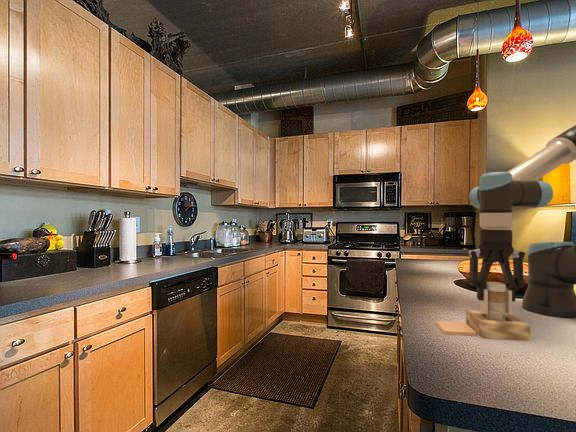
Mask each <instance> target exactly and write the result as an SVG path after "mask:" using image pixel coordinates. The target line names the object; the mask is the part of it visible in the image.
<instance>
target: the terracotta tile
mask: <svg viewBox="0 0 576 432" xmlns="http://www.w3.org/2000/svg"><path fill="white" fill-rule="evenodd" d="M435 325H436V326H437V327H438V328H439V330H440V331H442V333H443V334H444V335H453V336H454V335H456V336H457V335H458V336H471V337H474V336H475V337H476V336H477V334H478V333H477V332H475V331H474V330H473V329H472V328H471V327H470V326H468V325H467V324H466V322H461V321H460V322H459V321H443V320H442V321H439V320H435Z"/></svg>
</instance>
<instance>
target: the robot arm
mask: <svg viewBox="0 0 576 432" xmlns="http://www.w3.org/2000/svg"><path fill="white" fill-rule="evenodd" d="M575 160H576V124H575V125H573V126H571V127H570V128H568V129H566V130H565V131H563V132H561V133H560V134H558V135H557V136H555V137H553V138H552V139H550V140H549V141H548V142H547V143H546V145H545V147H544V148H541V150H539V151H537V152H536V153H534V154H532V155H531V156H529V157H528V158H527V159H524V160H523V161H522V162H520V163H518V164H517V165H515V166H514V167H512V168H511V169H509V170H508V171H494V172H485V173H483V174H481V175H480V177H479V186H475V187H473V188H472V189H471V190H470V192H469V195H468V196H469V197H468V200H469V202H470V203H469V204H471V206H472V207H474V208H476V209H479V227H480V228H481V229H480V230H479V246H478V247H477V248H476V249H472V250H471V249H469V250H468V251H467V254H468V257H469V273H468V274H469V275H468V276H469V278H468V279H469V280H468V281H469V282H468V283H469V285H471V286H472V287H474V288H476V298H477V300H478V301H480V302H479V303H480V308H479V311H482V312H483V313H485V314H488V290H487V289H486V283H487V282H488V277H489V274H490V271H491V269H492V267H493V264H495V263H498V264H499V266H500V268H501V272H502V276H503V279H504V282H505V285H506V291H505V292H506V293H505V303H506V313H507V314H509V315H513V303H515V302H516V292H518V290H519V289H523V288H525V287H524V286H525V285H524V283H525V282H524V280H525V279H524V258H525V256H526V253H525V251H521V250H516V249H514V247H513V230H512V229H511V228H512V227H513V209H514V208H530V209H531V208H533V209H535V208H536V209H537V208H543V207H545V206H547V205H548V204H550V203H551V201H552V200H553V198H554V190H553V189H554V188H553V187H552V185H551V184H550V183H548V182H547V181H542V180H540V179H542V178H544V177H545V176H547V175H548V174H549V173H551V172H552V171H553V170H555V169H557V168H559V167H560V166H562V165H565V164H566V165H567V164H571V163H573V162H574V161H575ZM480 255H481V256H482V261H481V267H480V269H479V257H480ZM511 256H512V268H511V263H510V259H509V258H510V257H511ZM527 266H528V267H527V268H528V269H527V270H528V286H527V288H526V290H525V293H524V295H523V298H522V301H521V302H522V304H521V305H522V306H521V307H522V308H523V309H525V310H527V311H529V312H533V313H535V314H540V315H541V314H542V315H545V316H551V317H557V318H558V317H559V318H576V292H575V285H576V241H575V243H574V242H573V241H555V242H552V241H551V242H534V243H531V244H530V245H529V246H528V253H527ZM512 271H513V272H512Z"/></svg>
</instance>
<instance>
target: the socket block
mask: <svg viewBox="0 0 576 432" xmlns="http://www.w3.org/2000/svg"><path fill="white" fill-rule="evenodd" d="M465 313H466V314H465V315H466V316H465V318H466V322H465V323H466V324H467V325H468V326H469V327H471V328H472V329H473V330H474V331H475V332H476V333H477V334H478V335H479V336H480V337H481V338H482V339H490V340H509V341H527V342H531V325H530V324H529V323H527V322H525V321H524V320H522V319H520V318H518V317H517V316H515V315H513V314H512V315H509V314H507V313H506V321H494V320H488V319H487V317H486V315H487V314H485V313H483V312H482V311H480V310H469V309H467V310H466V311H465Z"/></svg>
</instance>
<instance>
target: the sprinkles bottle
mask: <svg viewBox="0 0 576 432" xmlns="http://www.w3.org/2000/svg"><path fill="white" fill-rule="evenodd" d="M506 288H507V286H506V283H503V282H498V281H486V285H485V289H487V290H488V314H487V315H486V317H487V319H488V320H494V321H506V303H505V293H506V292H505V291H506Z"/></svg>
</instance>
